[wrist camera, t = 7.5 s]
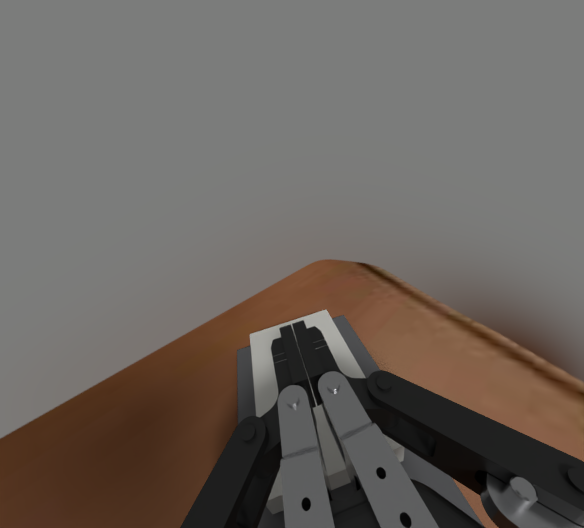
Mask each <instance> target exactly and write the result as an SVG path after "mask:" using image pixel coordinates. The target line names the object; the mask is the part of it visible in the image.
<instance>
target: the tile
mask: <svg viewBox="0 0 584 528" xmlns="http://www.w3.org/2000/svg"><path fill="white" fill-rule="evenodd" d="M302 320H304V322H305V325H306V327H307V328H310V327H313V326H315V327H317V328H318V329H319V330H320V331H321V332H322V334H323V336H324V338H325V340H326V342H327V345H328V347H329V349H330V351H331V353H332V355H333V357H334V359H335V361H336V363H337V365H338V367H339V369H340V370H341V372H342V373H343V374H345V375H346V376H348V377H351V378H366V377H365V375H364V374H363V372H362V370H361V369H360V367H359V365H358V363H357V362H356V360H355V358H354V356H353V355H352V353H351V351H350V349H349V348H348V346H347V344H346V343H345V341H344V339H343V337H342V336H341V334H340V332H339V330H338V329H337V327H336V325H335V324H334V322H333V320H332V318H331V317H330V315H329V313H328V311H327V310H323V311H320V312H317V313H314V314H311V315H308V316H305V317H302V318H298V319H295V320H292V321H289V322H286V323H283V324H280V325H277V326H274V327H271V328H268V329H265V330H262V331H259V332H255V333H252V334H250V343H251V356H252V368H253V381H254V394H255V406H256V416H257V417H259V418H260V417H261V416H262V415H264V414H265V413H266V412H268V411H269V410H270V409H271V408H272V407H273V406H274V404H275V402H276V400H277V398H278V386H277V380H276V375H275V369H274V363H273V357H272V352H271V345H272V341H273V340H274V339H277V338H280V337H281V334H280V330H279V328H280V327H284V326H287V325H290V324H291V326H292V323H296V322H299V321H302ZM292 329H293V326H292ZM293 332H294V330H293ZM294 336H295V333H294ZM295 339H296V337H295ZM296 342H297V340H296ZM297 345H298V344H297ZM298 348H299V347H298ZM299 351H300V350H299ZM304 367H305V366H304ZM305 370H306V369H305ZM306 373H307V372H306ZM307 376H308V375H307ZM308 379H309V378H308ZM309 383H310V381H309ZM310 386H311V384H310ZM311 390H312V388H311ZM312 393H313V391H312ZM313 397H314V394H313ZM314 400H315V397H314ZM315 404H316V407H314V408H313V411H314V414H315V417H316V421H317V430H318V434H319V439H320V443H321V448H322V452H323V457H324V461H325V465H326V470H327V474H328V478H329V482H330V486H331V490H334V489H336V488H338V487H341V486H343V485H346V484H348V483H351V481H350V478H349V476H348V473H347V470H346V467H345V465H344V462H343V460H342V457H341V455H340V452H339V450H338V448H337V445H336V443H335V440H334V438H333V436H332V433H331V431H330V428H329V426H328V424H327V421H326V417H325V414H324V411H323V408H322V405H319V406H317V403H316V400H315ZM383 435H384V434H383ZM384 437H385V438H386V440H387V442H388V443H389V445H390V447H391V448H392V450H393V452H394V453H395V455H396V457H397V458H398V460H399V462H401V461H403V459H404V448H405V447H403V446H402V445H400V444H398V443H397V442H395V441H394V440H392V439H390V438H389V437H387V436H386V435H384ZM266 507H267V508H268V509H269V510H270V512H271V513H272V514H275V513H278V512H280V511H283V510H284V507H283V494H282V482H281V470H280V469H279V472H278V474H277V477H276V480H275V482H274V485H273V488H272V490H271V493H270V496H269V498H268V501H267V504H266Z"/></svg>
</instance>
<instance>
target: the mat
mask: <svg viewBox="0 0 584 528" xmlns="http://www.w3.org/2000/svg"><path fill="white" fill-rule="evenodd" d="M332 320H333V322H334V324H335V325H336V327H337V329H338V330H339V332H340V334H341V336H342V337H343V339H344V341H345V343H346V344H347V346H348V348H349V349H350V351H351V353H352V355H353V356H354V358H355V360H356V362H357V363H358V365H359V367H360V369H361V370H362V372H363V374H364V375H365V377H366V378H368V377H369V375H370V374H371V373H373V372H375V371H380V369H379V368H378V366H377V365H376V363H375V362H374V360H373V359H372V357H371V356H370V354H369V353H368V351H367V350H366V348H365V347H364V345H363V344H362V342H361V341H360V339H359V338H358V336H357V335H356V333H355V332H354V330H353V329H352V327H351V325H350V324H349V322H348V321H347V319H346V318H345V316H344V315H342V316H339V317H336V318H333V319H332ZM237 383H238V424H239V423H240V422H241V421H242V420H243V419H245V418H247V417H249V416H256V406H255V394H254V381H253V368H252V356H251V346H248V347H245V348H242V349H239V350H237ZM400 463H401V465H402V467H403V468H404V470H405V472H406V473H407V475H408V477H409V478H410V479H413V480H416V481H418V482H421V483H423V484H425V485H427V486H428V487H430V488H432V489H433V490H435V491H436V492H437V493H439V494H440V495H441V496H443V497H444V498H446V499H447V500H448V501H450V502H451V503H452V504H454V505H455V506H456V507H458V508H459V509H461V510H462V511H463V512H465V513H466V514H467V515H469V516H470V517H471V518H473V519H474V520H476V521H477V522H478V523H480V524H481V525H482V523H481V522H480V520H479V518H478V517H477V515H476V514H475V512H474V511H473V509H472V508H471V506H470V505H469V503H468V502H467V500H466V499H465V497H464V496H463V494H462V493H461V491H460V490H459V488H458V487H457V485H456V484H455V482H454V481H453V479H452V478H451V477H450V476H449V475H447V474H446V473H444V472H442V471H441V470H439V469H438V468H436V467H435V466H433V465H431V464H430V463H428V462H427V461H425V460H424V459H422V458H420V457H419V456H417V455H416V454H414V453H413V452H411V451H409V450H408V449H406V448H404V459H403V461H401V462H400ZM332 494H333V499H334V501H340V500H348V499H349V498H351V497H352V496H353V495H354V494H355V491H354V489H353V486H352V484H351V483H348V484H346V485H343V486H341V487H338V488H336V489H334V490H332ZM482 526H483V525H482ZM257 528H285V519H284V510H283V511H280V512H278V513H275V514H272V513H271V512H270V510H269V509H268V508H267V507H266V506H265V509H264V512H263V514H262V517H261V520H260V522H259V525H258V527H257Z"/></svg>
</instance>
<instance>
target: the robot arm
mask: <svg viewBox="0 0 584 528" xmlns="http://www.w3.org/2000/svg"><path fill="white" fill-rule="evenodd" d="M292 326H293V329H292ZM292 326H291V324H290V325H287V326H284V327H280V328H279V330H280V334H281V337H280V338H277V339H274V340H273V341H272V345H271V352H272V357H273V363H274V369H275V375H276V380H277V386H278V398H277V400H276V402H275V404H274V406H273V407H272V408H271V409H270V410H269V411H268V412H266V413H265V414H264V415H262V416H261V417H260V418H259V417H257V416H249V417H247V418H245V419H243V420H242V421H241V422H240V423H239V424H238V426H237V427H236V429H235V431H234V433H233V434H232V436H231V438H230V440H229V441H228V443H227V445H226V447H225V449H224V450H223V452H222V454H221V456H220V458H219V459H218V461H217V463H216V465H215V466H214V468H213V470H212V472H211V474H210V475H209V477H208V479H207V481H206V483H205V484H204V486H203V488H202V490H201V491H200V493H199V495H198V497H197V499H196V500H195V502H194V504H193V506H192V508H191V509H190V511H189V513H188V515H187V516H186V518H185V520H184V522H183V524H182V525H181V527H180V528H257V527H258V525H259V522H260V520H261V517H262V514H263V512H264V509H265V506H266V504H267V501H268V498H269V496H270V493H271V490H272V488H273V485H274V482H275V480H276V477H277V474H278V472H279V469H280V470H281V482H282V494H283V507H284V519H285V528H485V527H484V526H482V525H481V524H480V523H478V522H477V521H476V520H474V519H473V518H471V517H470V516H469V515H467V514H466V513H465V512H463V511H462V510H461V509H459V508H458V507H456V506H455V505H454V504H452V503H451V502H450V501H448V500H447V499H446V498H444V497H443V496H441V495H440V494H439V493H437V492H436V491H435V490H433V489H432V488H430V487H428V486H427V485H425V484H423V483H421V482H418V481H416V480H413V479H410V478H409V477H408V475H407V473H406V472H405V470H404V468H403V467H402V465H401V463H400V462H399V460H398V458H397V457H396V455H395V453H394V452H393V450H392V448H391V447H390V445H389V443H388V442H387V440H386V438H385V437H384V435H386V436H387V437H389V438H390V439H392V440H394V441H395V442H397V443H398V444H400V445H402V446H403V447H405V448H406V449H408V450H409V451H411V452H413V453H414V454H416V455H417V456H419V457H420V458H422V459H424V460H425V461H427V462H428V463H430V464H431V465H433V466H435V467H436V468H438V469H439V470H441V471H442V472H444V473H446V474H447V475H449V476H450V477H452V478H453V479H455V480H457V481H458V482H460V483H461V484H463V485H464V486H466V487H468V488H469V489H471V490H472V491H474V492H475V493H477V494H479V495H480V496H481V501H482V504H483V507H484V509H485V511H486V513H487V514H488V516H489V517H490V519H491V520H492V521H493V522H494V523H495V525H496V526H497V527H498V528H584V462H583V461H581V460H579V459H577V458H575V457H573V456H571V455H568V454H566V453H564V452H562V451H560V450H557V449H555V448H553V447H551V446H549V445H547V444H544V443H542V442H540V441H538V440H536V439H533V438H531V437H529V436H527V435H525V434H523V433H520V432H518V431H516V430H514V429H512V428H509V427H507V426H505V425H503V424H501V423H499V422H496V421H494V420H492V419H490V418H488V417H485V416H483V415H481V414H479V413H477V412H475V411H472V410H470V409H468V408H466V407H464V406H461V405H459V404H457V403H455V402H453V401H451V400H448V399H446V398H444V397H442V396H440V395H437V394H435V393H433V392H431V391H429V390H427V389H424V388H422V387H420V386H418V385H416V384H413V383H411V382H409V381H407V380H405V379H403V378H400V377H398V376H396V375H394V374H392V373H389V372H387V371H382V370H380V371H375V372H373V373H371V374H370V375H369V377H368V378H351V377H348V376H346V375H345V374H343V373H342V372H341V370H340V369H339V367H338V365H337V363H336V361H335V359H334V357H333V355H332V353H331V351H330V349H329V347H328V345H327V342H326V340H325V338H324V336H323V334H322V332H321V331H320V330H319V329H318V328H317V327H315V326H313V327H310V328H307V327H306V325H305V322H304V320H302V321H299V322H296V323H292ZM293 330H294V332H293ZM294 333H295V336H294ZM295 337H296V339H295ZM296 340H297V342H296ZM297 344H298V345H297ZM298 347H299V348H298ZM299 350H300V351H299ZM304 366H305V367H304ZM305 369H306V370H305ZM306 372H307V373H306ZM307 375H308V376H307ZM308 378H309V379H308ZM309 381H310V383H309ZM310 384H311V386H310ZM311 388H312V390H311ZM312 391H313V393H312ZM313 394H314V397H315V400H316V403H317V406H319V405H322V408H323V411H324V414H325V417H326V421H327V424H328V426H329V428H330V431H331V433H332V436H333V438H334V440H335V443H336V445H337V448H338V450H339V452H340V455H341V457H342V460H343V462H344V465H345V467H346V470H347V473H348V476H349V478H350V481H351V484H352V486H353V489H354V491H355V494H354V495H353V496H352V497H351V498H349V499H348V500H340V501H334V499H333V494H332V490H331V486H330V482H329V478H328V474H327V470H326V465H325V461H324V457H323V452H322V448H321V443H320V439H319V434H318V430H317V421H316V417H315V414H314V411H313V408H314V407H316V404H315V400H314V397H313ZM383 434H384V435H383Z"/></svg>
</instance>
